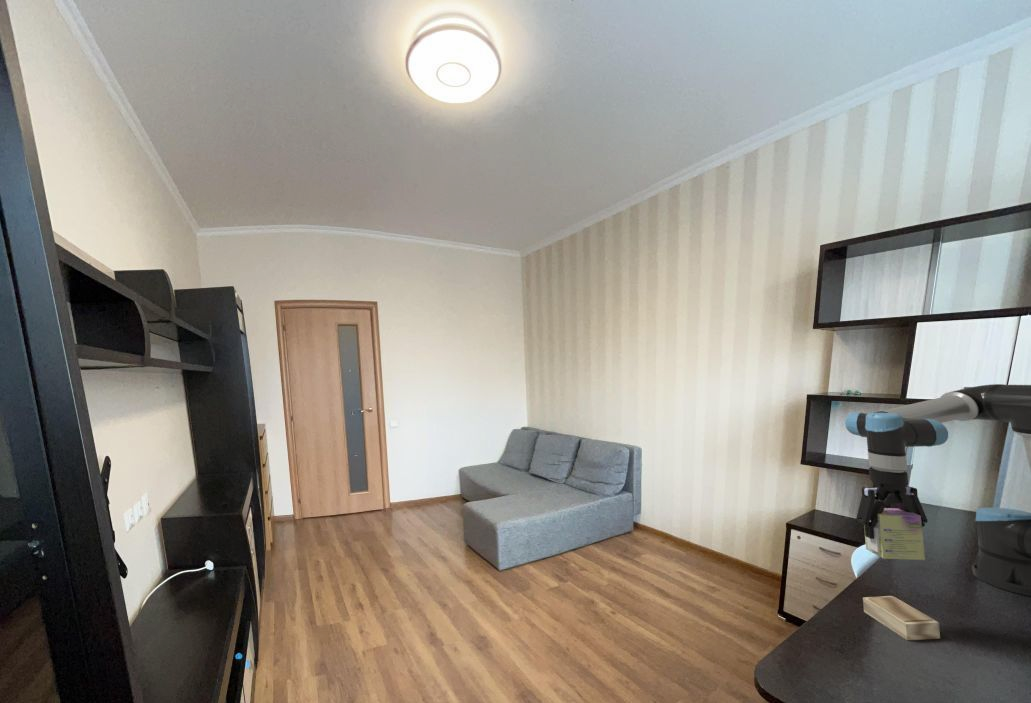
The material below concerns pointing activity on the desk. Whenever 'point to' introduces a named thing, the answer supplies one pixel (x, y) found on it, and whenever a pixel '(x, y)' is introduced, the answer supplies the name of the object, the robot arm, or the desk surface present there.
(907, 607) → the wooden tray
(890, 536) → the box
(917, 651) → the desk surface
